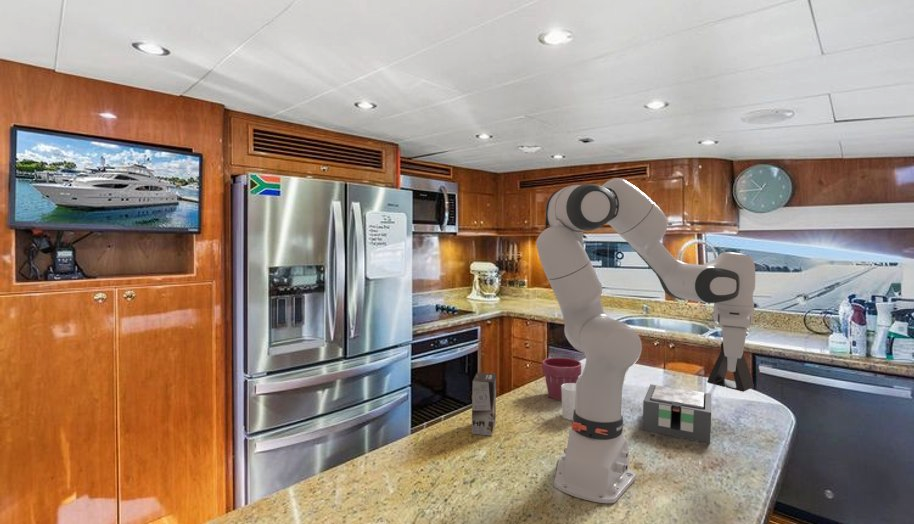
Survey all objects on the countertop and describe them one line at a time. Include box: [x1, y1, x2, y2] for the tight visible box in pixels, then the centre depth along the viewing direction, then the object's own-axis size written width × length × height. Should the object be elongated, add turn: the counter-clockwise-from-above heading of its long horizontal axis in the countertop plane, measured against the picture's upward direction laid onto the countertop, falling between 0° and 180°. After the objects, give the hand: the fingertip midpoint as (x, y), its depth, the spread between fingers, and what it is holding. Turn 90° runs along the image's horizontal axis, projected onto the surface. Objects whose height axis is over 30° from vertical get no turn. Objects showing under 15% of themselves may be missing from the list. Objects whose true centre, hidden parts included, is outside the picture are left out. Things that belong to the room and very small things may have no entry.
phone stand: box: [706, 341, 755, 393], centre depth 118 cm, size 9×6×12 cm, turn 36°
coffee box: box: [471, 372, 497, 437], centre depth 137 cm, size 9×6×16 cm
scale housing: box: [642, 383, 712, 444], centre depth 141 cm, size 18×18×9 cm
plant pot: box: [541, 357, 582, 401], centre depth 166 cm, size 14×14×13 cm
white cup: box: [561, 383, 576, 422], centre depth 147 cm, size 8×8×10 cm
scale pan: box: [651, 384, 705, 409], centre depth 139 cm, size 17×14×1 cm
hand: (730, 367), depth 118 cm, fingers closed on phone stand, 6 cm apart
